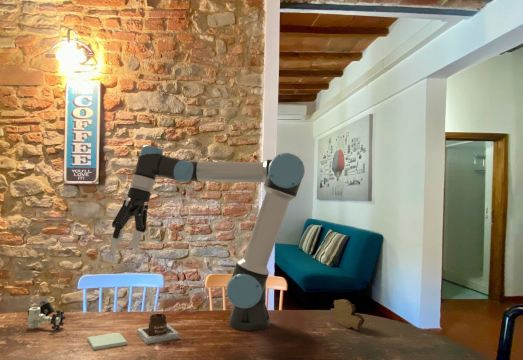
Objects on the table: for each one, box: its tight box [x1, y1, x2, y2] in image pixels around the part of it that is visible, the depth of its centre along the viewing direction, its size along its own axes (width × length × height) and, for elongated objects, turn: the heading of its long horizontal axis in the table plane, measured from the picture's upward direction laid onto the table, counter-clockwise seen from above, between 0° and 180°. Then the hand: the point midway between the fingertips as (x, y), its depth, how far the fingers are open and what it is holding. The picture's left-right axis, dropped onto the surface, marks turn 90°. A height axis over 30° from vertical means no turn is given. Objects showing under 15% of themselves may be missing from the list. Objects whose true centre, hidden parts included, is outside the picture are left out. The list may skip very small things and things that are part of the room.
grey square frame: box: [136, 324, 180, 345], centre depth 143 cm, size 11×11×2 cm
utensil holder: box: [147, 298, 169, 337], centre depth 143 cm, size 6×6×12 cm
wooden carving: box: [330, 298, 365, 331], centre depth 159 cm, size 16×5×10 cm, turn 34°
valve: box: [27, 306, 66, 331], centre depth 149 cm, size 7×7×12 cm
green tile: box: [87, 331, 128, 351], centre depth 136 cm, size 10×10×1 cm
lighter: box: [27, 300, 55, 317], centre depth 161 cm, size 9×2×6 cm
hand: (123, 248), depth 147 cm, fingers open, 13 cm apart
